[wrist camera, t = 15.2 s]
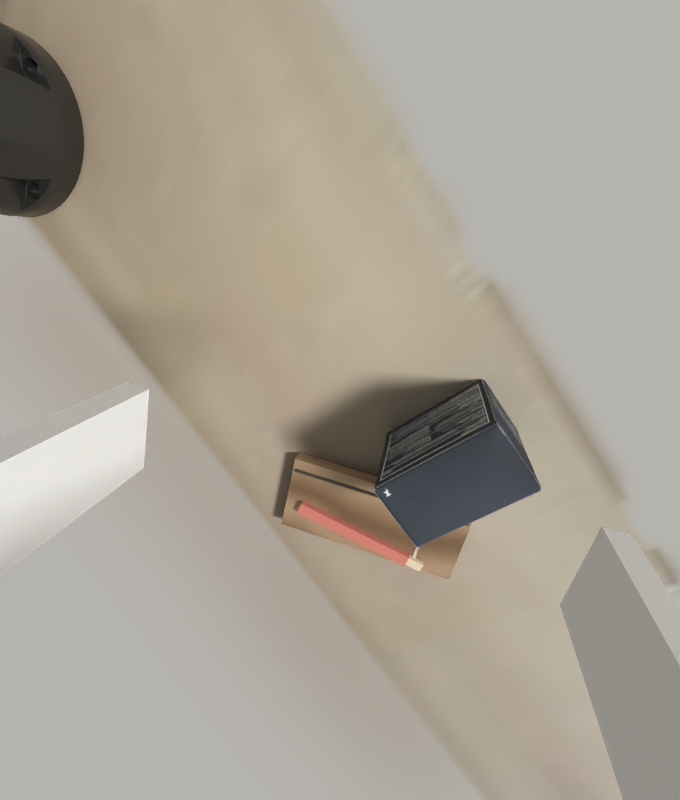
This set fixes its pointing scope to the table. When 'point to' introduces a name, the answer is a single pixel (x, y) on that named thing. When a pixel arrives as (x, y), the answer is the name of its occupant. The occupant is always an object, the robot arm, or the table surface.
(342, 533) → the carpenter pencil
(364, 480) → the wooden board
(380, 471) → the small box
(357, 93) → the table surface
